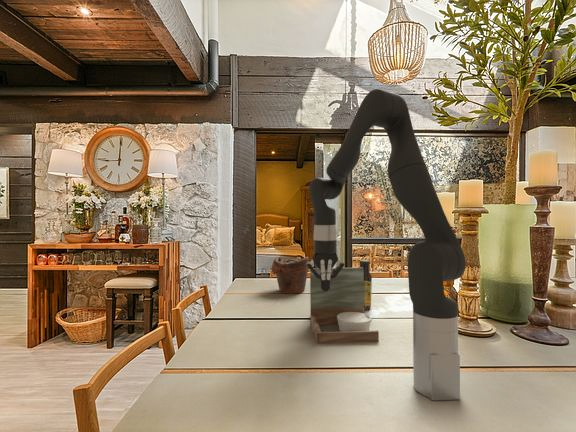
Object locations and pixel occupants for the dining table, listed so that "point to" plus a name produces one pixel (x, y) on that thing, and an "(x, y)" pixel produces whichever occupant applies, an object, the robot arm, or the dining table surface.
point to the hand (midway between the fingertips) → (325, 290)
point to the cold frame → (338, 305)
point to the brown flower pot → (290, 274)
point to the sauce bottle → (367, 284)
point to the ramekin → (353, 321)
